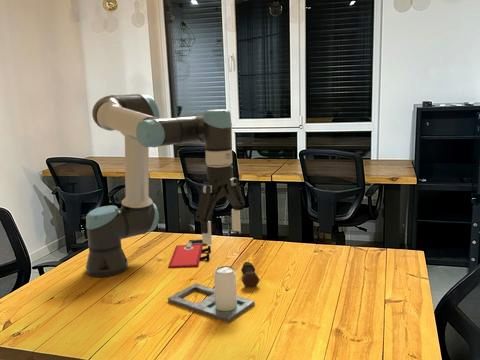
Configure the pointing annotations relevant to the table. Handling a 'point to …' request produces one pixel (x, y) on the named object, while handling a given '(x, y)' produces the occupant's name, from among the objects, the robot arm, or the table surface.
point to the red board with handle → (189, 254)
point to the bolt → (249, 275)
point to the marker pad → (225, 312)
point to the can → (225, 288)
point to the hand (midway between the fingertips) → (222, 236)
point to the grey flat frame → (209, 303)
